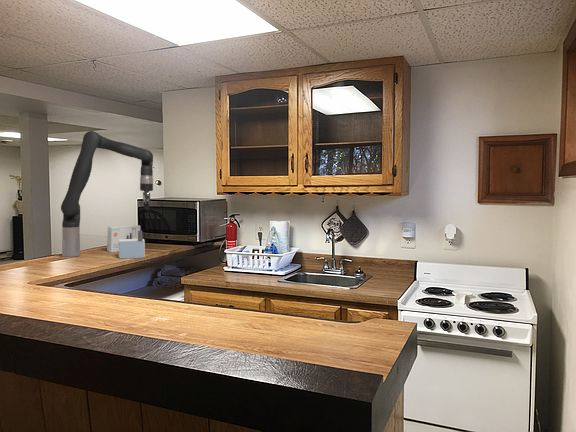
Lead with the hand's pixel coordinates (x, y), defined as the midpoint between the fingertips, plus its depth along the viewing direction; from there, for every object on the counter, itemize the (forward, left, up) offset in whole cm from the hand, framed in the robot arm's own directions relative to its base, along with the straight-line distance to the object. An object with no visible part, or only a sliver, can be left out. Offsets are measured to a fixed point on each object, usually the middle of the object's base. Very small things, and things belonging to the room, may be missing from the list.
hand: (146, 209), depth 271 cm
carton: (-9, -7, -28) cm, 30 cm away
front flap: (-9, -12, -27) cm, 31 cm away
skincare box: (-12, +20, -28) cm, 37 cm away
